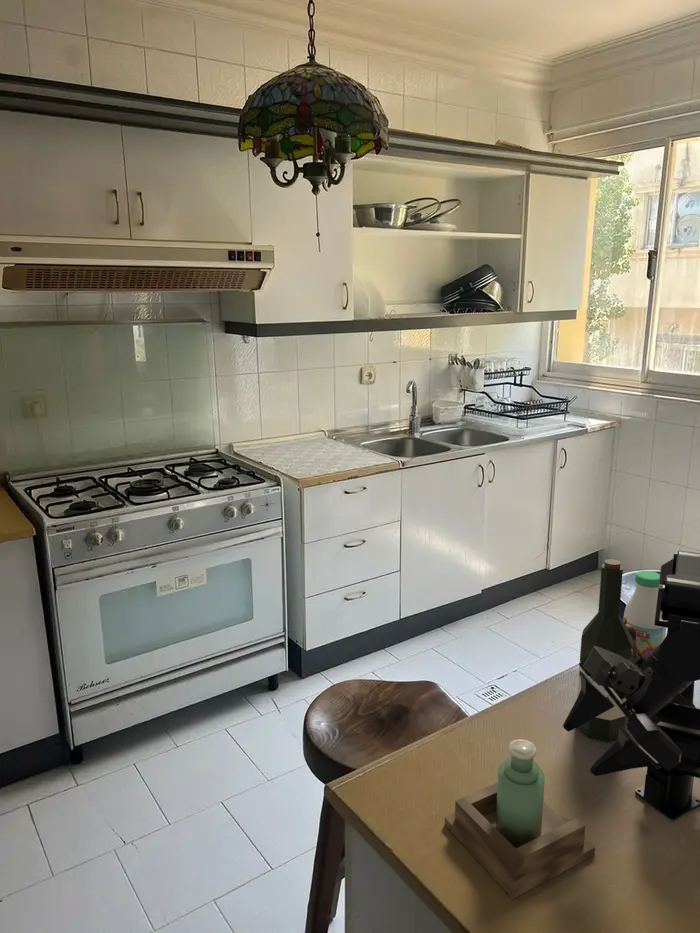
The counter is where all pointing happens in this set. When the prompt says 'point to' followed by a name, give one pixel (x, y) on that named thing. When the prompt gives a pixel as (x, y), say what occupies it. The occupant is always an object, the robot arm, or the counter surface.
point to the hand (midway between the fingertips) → (578, 750)
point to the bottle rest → (525, 863)
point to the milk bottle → (645, 612)
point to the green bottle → (520, 795)
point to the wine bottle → (607, 646)
